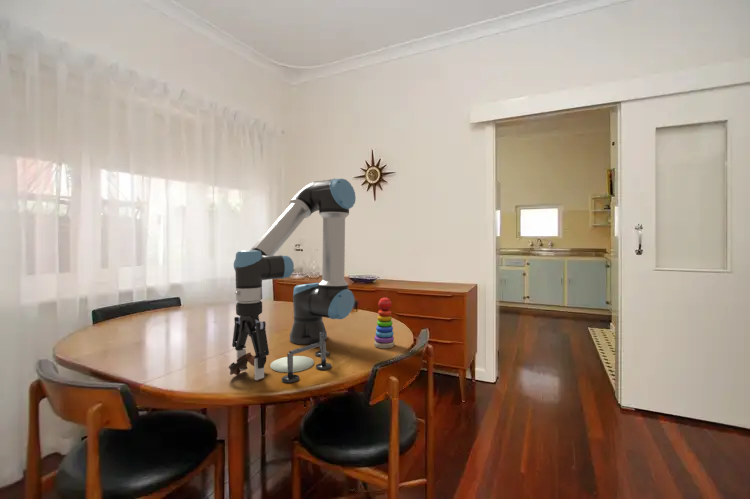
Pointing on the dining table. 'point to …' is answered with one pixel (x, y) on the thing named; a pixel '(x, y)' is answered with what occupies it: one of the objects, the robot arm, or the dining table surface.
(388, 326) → the stacking toy
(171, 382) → the dining table surface
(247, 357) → the brown angular figure
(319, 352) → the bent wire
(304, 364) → the sage pad
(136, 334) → the dining table surface
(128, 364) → the dining table surface
